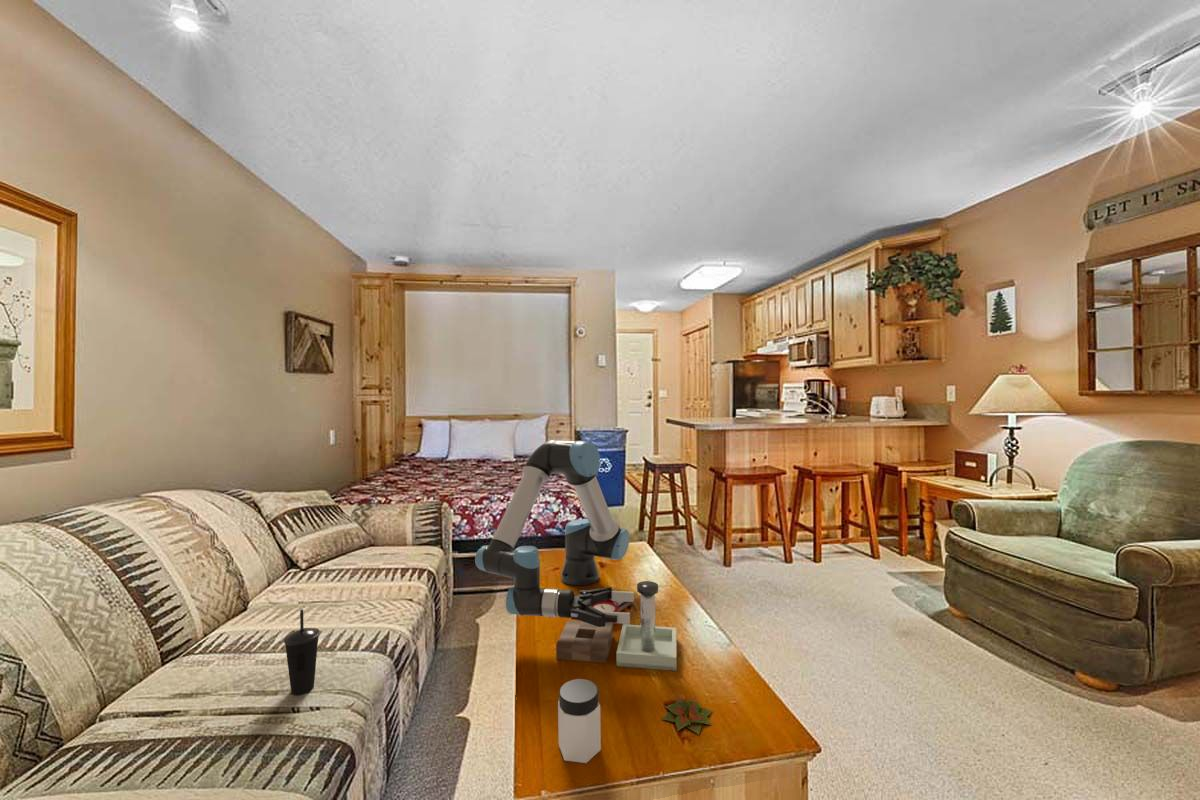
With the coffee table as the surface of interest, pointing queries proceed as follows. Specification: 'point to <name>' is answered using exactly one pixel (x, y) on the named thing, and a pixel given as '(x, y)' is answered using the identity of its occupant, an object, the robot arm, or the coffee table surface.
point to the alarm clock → (606, 607)
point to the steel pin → (647, 614)
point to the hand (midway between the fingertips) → (631, 607)
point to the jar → (579, 720)
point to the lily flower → (687, 707)
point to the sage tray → (635, 657)
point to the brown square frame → (584, 642)
